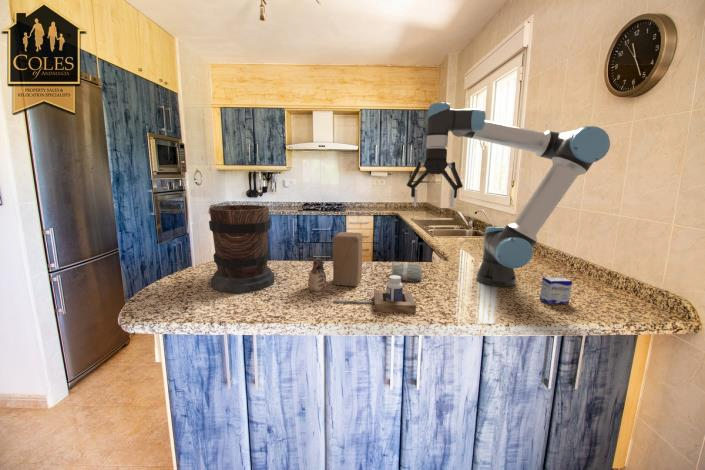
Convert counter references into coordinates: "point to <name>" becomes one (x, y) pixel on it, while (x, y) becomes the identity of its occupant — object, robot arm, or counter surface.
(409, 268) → the decorative stone
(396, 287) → the pill bottle
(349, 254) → the wooden block
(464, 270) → the counter surface
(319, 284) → the figurine
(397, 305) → the brown square frame
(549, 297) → the box
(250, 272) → the wooden barrel
